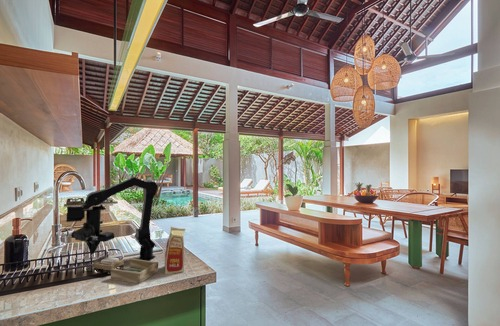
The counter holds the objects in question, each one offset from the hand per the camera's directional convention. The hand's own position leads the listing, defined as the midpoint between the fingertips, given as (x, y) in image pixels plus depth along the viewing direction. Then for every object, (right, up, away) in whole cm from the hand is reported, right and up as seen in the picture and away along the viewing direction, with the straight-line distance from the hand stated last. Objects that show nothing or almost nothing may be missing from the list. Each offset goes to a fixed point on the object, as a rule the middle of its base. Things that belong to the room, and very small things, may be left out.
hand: (92, 253), depth 120 cm
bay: (+22, -7, -5) cm, 23 cm away
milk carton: (+37, -8, +2) cm, 38 cm away
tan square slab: (+8, -7, -2) cm, 11 cm away
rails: (+12, -7, -3) cm, 14 cm away
